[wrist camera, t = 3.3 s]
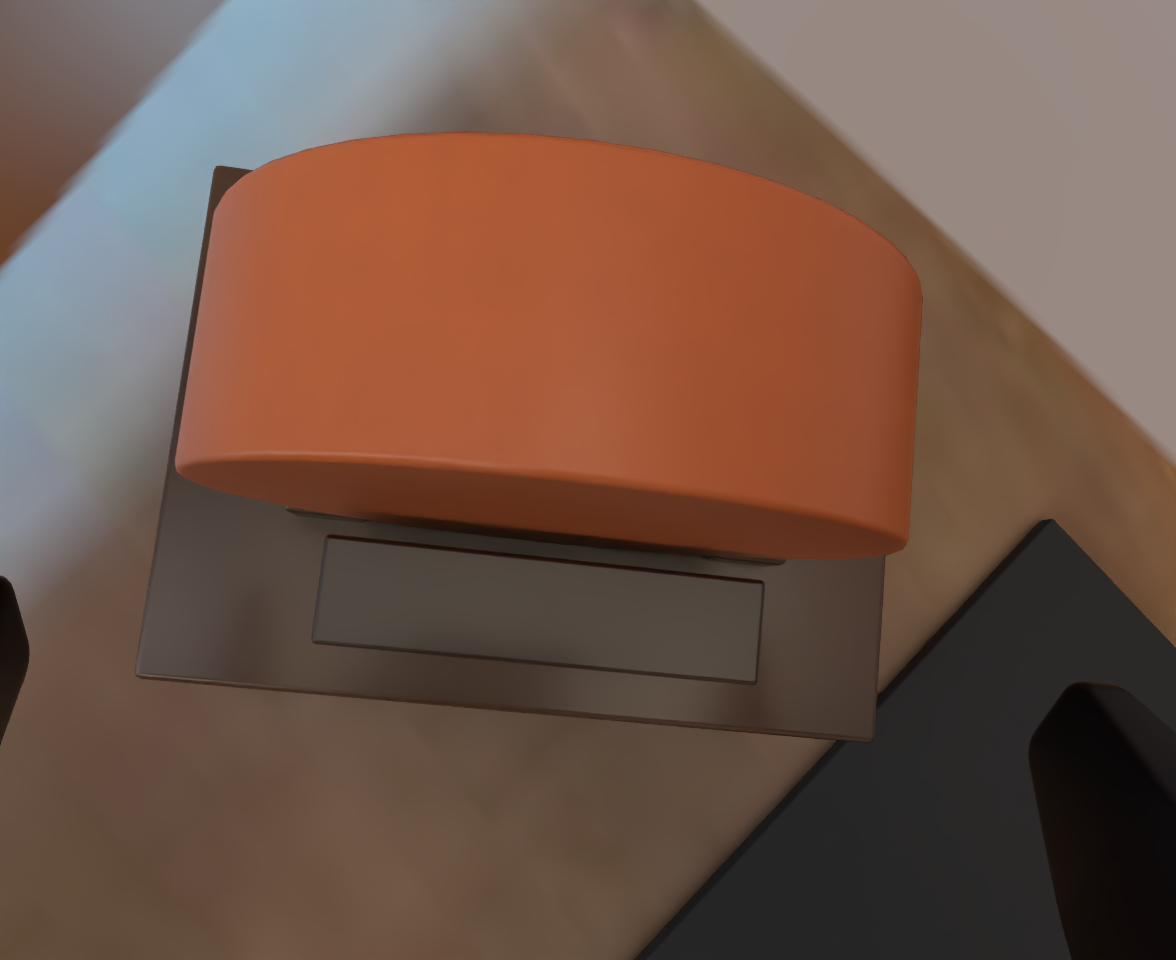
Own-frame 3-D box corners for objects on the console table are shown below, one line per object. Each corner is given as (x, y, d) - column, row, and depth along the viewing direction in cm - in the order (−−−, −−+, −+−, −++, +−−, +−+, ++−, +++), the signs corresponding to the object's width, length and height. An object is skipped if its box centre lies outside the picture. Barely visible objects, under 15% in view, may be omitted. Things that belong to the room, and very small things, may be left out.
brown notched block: (775, 707, 18) (963, 776, 11) (217, 656, 17) (53, 698, 10) (802, 340, 19) (992, 199, 12) (275, 269, 18) (158, 68, 11)
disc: (789, 568, 14) (1072, 536, 7) (279, 514, 13) (12, 420, 6) (802, 399, 14) (1082, 199, 7) (304, 342, 13) (74, 68, 7)
